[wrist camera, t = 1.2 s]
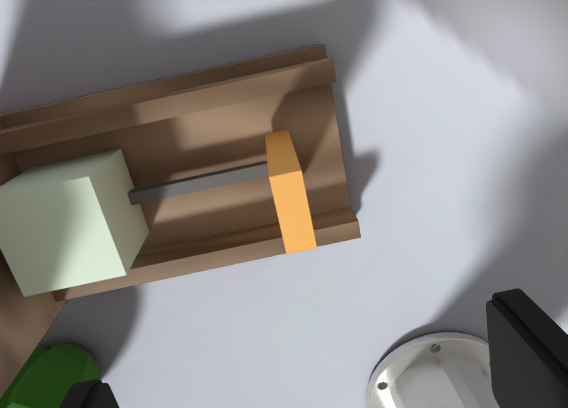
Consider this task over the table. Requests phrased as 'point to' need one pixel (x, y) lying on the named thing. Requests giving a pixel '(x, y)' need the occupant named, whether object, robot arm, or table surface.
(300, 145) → the shelf lane
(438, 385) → the robot arm
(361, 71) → the table surface
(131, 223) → the lane block
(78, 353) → the bell pepper
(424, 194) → the table surface
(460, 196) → the table surface
